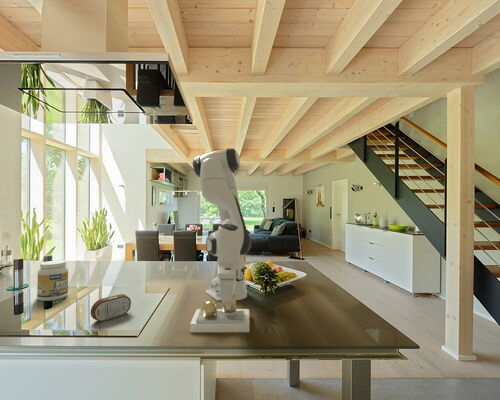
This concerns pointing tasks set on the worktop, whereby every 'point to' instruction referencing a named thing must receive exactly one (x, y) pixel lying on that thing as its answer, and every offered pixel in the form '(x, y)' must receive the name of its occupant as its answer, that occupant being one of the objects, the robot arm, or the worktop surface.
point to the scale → (221, 321)
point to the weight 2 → (233, 306)
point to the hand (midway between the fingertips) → (229, 305)
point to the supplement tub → (52, 280)
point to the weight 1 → (210, 308)
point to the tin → (110, 307)
